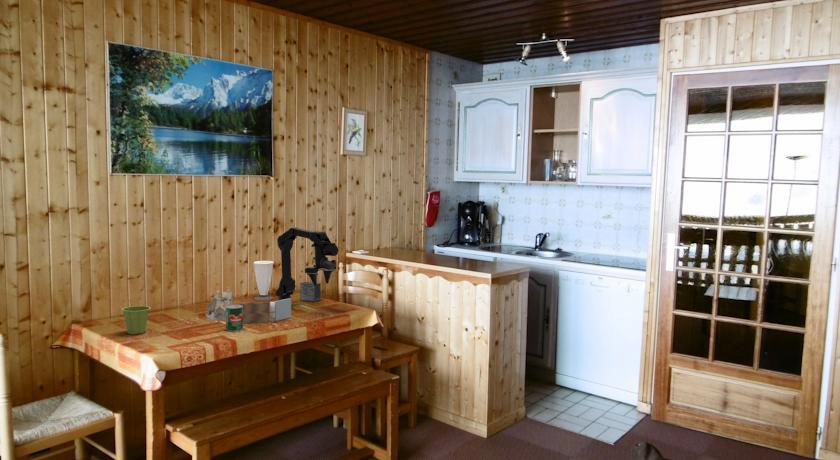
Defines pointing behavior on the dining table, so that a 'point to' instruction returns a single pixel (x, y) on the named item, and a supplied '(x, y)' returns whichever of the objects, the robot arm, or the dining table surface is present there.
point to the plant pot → (136, 318)
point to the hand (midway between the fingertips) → (321, 284)
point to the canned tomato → (234, 317)
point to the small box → (310, 292)
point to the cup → (263, 278)
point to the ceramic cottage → (219, 305)
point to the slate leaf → (281, 309)
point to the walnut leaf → (257, 313)
